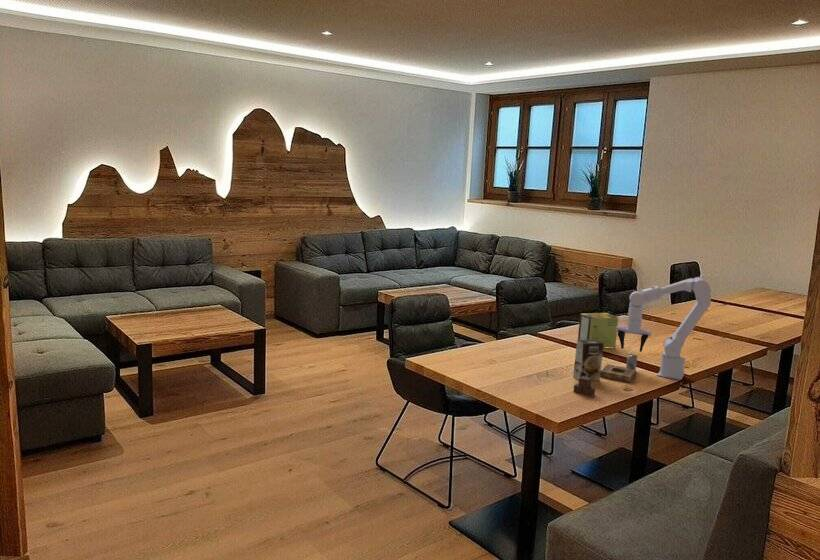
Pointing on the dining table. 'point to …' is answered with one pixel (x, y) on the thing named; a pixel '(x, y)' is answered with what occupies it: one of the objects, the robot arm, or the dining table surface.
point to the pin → (631, 361)
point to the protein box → (598, 328)
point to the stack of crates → (584, 386)
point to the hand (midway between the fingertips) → (631, 349)
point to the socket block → (618, 373)
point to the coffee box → (588, 359)
